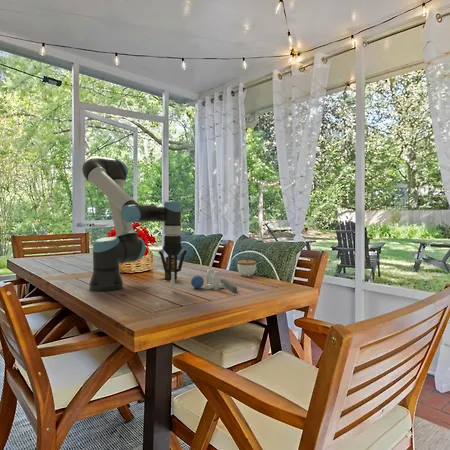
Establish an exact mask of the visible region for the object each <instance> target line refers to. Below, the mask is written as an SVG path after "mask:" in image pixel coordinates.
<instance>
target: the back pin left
mask: <svg viewBox="0 0 450 450" xmlns="http://www.w3.org/2000/svg"><path fill="white" fill-rule="evenodd" d="M206 274H207V276H206V284H213V269H206Z"/></svg>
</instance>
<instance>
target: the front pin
mask: <svg viewBox="0 0 450 450" xmlns="http://www.w3.org/2000/svg"><path fill="white" fill-rule="evenodd" d="M204 289H205V290H214V283H212V284H207V283H206V284H205V283H204ZM221 289H225V287H224V284H223V283H221V282H219V290H221Z"/></svg>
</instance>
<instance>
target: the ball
mask: <svg viewBox="0 0 450 450" xmlns="http://www.w3.org/2000/svg"><path fill="white" fill-rule="evenodd" d="M204 282H205V280H204V278H203V277H202V276H201V275H194V276H192V278H191V280H190V285H191V287H193V288H194V289H201V288H202V287H203V285H205V283H204Z"/></svg>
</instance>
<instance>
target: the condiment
mask: <svg viewBox="0 0 450 450" xmlns="http://www.w3.org/2000/svg"><path fill="white" fill-rule="evenodd" d="M165 263H166V267H167V269H168V256H166V257H165ZM171 272H174V256H172V258H171ZM159 280H160V281H162V282H170V280H169V279H168V272H165V271H164V277H163V278H162V277H161V278H160V277H159ZM179 280H180V279H179V278H177V280H176V281H179Z"/></svg>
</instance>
